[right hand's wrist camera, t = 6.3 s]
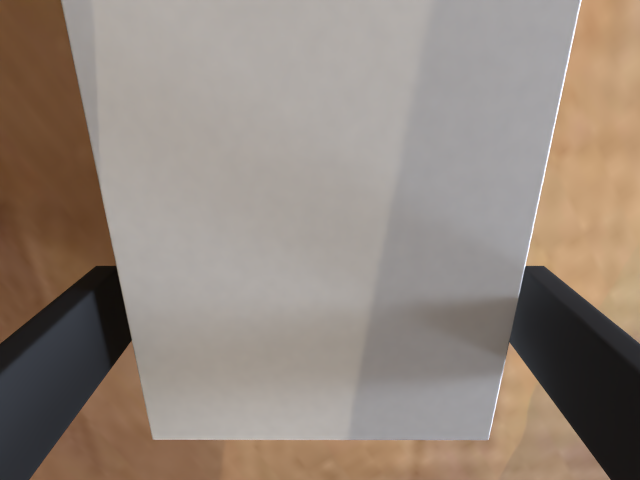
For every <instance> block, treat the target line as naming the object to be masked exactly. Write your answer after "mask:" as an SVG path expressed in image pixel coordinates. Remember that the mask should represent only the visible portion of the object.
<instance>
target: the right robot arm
mask: <svg viewBox="0 0 640 480" xmlns="http://www.w3.org/2000/svg"><path fill="white" fill-rule="evenodd" d="M131 341H132V338H131V333H130V329H129V324H128V319H127V314H126V309H125V305H124V300H123V295H122V290H121V286H120V281H119V276H118V271H117V266H96V267H94V268H93V269H92V270H91V271H89V272H88V273H87V274H86V275H85V276H83V277H82V278H81V279H80V280H78V281H77V282H76V283H75V284H73V285H72V286H71V287H70V288H68V289H67V290H66V291H65V292H64V293H62V294H61V295H60V296H59V297H57V298H56V299H55V300H54V301H52V302H51V303H50V304H49V305H48V306H46V307H45V308H44V309H43V310H41V311H40V312H39V313H38V314H36V315H35V316H34V317H33V318H31V319H30V320H29V321H28V322H27V323H25V324H24V325H23V326H22V327H20V328H19V329H18V330H17V331H15V332H14V333H13V334H12V335H11V336H9V337H8V338H7V339H6V340H4V341H3V342H2V343H1V344H0V480H29V479H30V478H31V476H32V475H33V474H34V472H35V471H36V470H37V468H38V467H39V466H40V464H41V463H42V461H43V460H44V459H45V457H46V456H47V455H48V453H49V452H50V451H51V449H52V448H53V447H54V445H55V444H56V442H57V441H58V440H59V438H60V437H61V436H62V434H63V433H64V432H65V430H66V429H67V428H68V426H69V425H70V423H71V422H72V421H73V419H74V418H75V417H76V415H77V414H78V413H79V411H80V410H81V409H82V407H83V406H84V404H85V403H86V402H87V400H88V399H89V398H90V396H91V395H92V394H93V392H94V391H95V389H96V388H97V387H98V385H99V384H100V383H101V381H102V380H103V379H104V377H105V376H106V375H107V373H108V372H109V370H110V369H111V368H112V366H113V365H114V364H115V362H116V361H117V360H118V358H119V357H120V356H121V354H122V353H123V351H124V350H125V349H126V347H127V346H128V345H129V343H130V342H131ZM509 342H510V343H511V345H512V346H513V347H514V349H515V350H516V351H517V353H518V354H519V356H520V357H521V358H522V360H523V361H524V362H525V364H526V365H527V366H528V368H529V369H530V370H531V372H532V373H533V375H534V376H535V377H536V379H537V380H538V381H539V383H540V384H541V385H542V387H543V388H544V389H545V391H546V392H547V394H548V395H549V396H550V398H551V399H552V400H553V402H554V403H555V404H556V406H557V407H558V409H559V410H560V411H561V413H562V414H563V415H564V417H565V418H566V419H567V421H568V422H569V423H570V425H571V426H572V428H573V429H574V430H575V432H576V433H577V434H578V436H579V437H580V438H581V440H582V441H583V442H584V444H585V445H586V447H587V448H588V449H589V451H590V452H591V453H592V455H593V456H594V457H595V459H596V460H597V461H598V463H599V464H600V466H601V467H602V468H603V470H604V471H605V472H606V474H607V475H608V476H609V478H610V479H611V480H640V344H639V343H638V342H637V341H636V340H634V339H633V338H632V337H631V336H629V335H628V334H627V333H626V332H625V331H623V330H622V329H621V328H620V327H618V326H617V325H616V324H615V323H613V322H612V321H611V320H610V319H609V318H607V317H606V316H605V315H604V314H602V313H601V312H600V311H599V310H597V309H596V308H595V307H594V306H592V305H591V304H590V303H589V302H588V301H586V300H585V299H584V298H583V297H581V296H580V295H579V294H578V293H576V292H575V291H574V290H573V289H572V288H570V287H569V286H568V285H567V284H565V283H564V282H563V281H562V280H560V279H559V278H558V277H557V276H555V275H554V274H553V273H552V272H551V271H549V270H548V269H547V268H546V267H544V266H525V269H524V274H523V279H522V284H521V288H520V293H519V298H518V302H517V307H516V312H515V317H514V321H513V326H512V331H511V336H510V340H509Z"/></svg>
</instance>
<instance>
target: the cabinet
mask: <svg viewBox="0 0 640 480" xmlns="http://www.w3.org/2000/svg"><path fill="white" fill-rule="evenodd" d="M61 3H62V8H63V13H64V18H65V22H66V27H67V32H68V37H69V42H70V46H71V51H72V56H73V61H74V65H75V70H76V75H77V80H78V85H79V89H80V94H81V99H82V104H83V108H84V113H85V118H86V123H87V128H88V132H89V137H90V142H91V147H92V152H93V156H94V161H95V166H96V171H97V175H98V180H99V185H100V190H101V195H102V199H103V204H104V209H105V214H106V219H107V223H108V228H109V233H110V238H111V242H112V247H113V252H114V257H115V262H116V266H117V271H118V276H119V281H120V286H121V290H122V295H123V300H124V305H125V309H126V314H127V319H128V324H129V329H130V333H131V338H132V343H133V348H134V352H135V357H136V362H137V367H138V372H139V376H140V381H141V386H142V391H143V396H144V400H145V405H146V410H147V415H148V419H149V424H150V429H151V434H152V439H154V440H488V439H489V435H490V431H491V426H492V421H493V416H494V412H495V407H496V402H497V397H498V393H499V388H500V383H501V378H502V374H503V369H504V364H505V359H506V355H507V350H508V345H509V340H510V336H511V331H512V326H513V321H514V317H515V312H516V307H517V302H518V298H519V293H520V288H521V284H522V279H523V274H524V269H525V265H526V260H527V255H528V250H529V246H530V241H531V236H532V231H533V227H534V222H535V217H536V212H537V208H538V203H539V198H540V193H541V189H542V184H543V179H544V174H545V170H546V165H547V160H548V155H549V151H550V146H551V141H552V136H553V132H554V127H555V122H556V117H557V113H558V108H559V103H560V98H561V94H562V89H563V84H564V79H565V75H566V70H567V65H568V60H569V56H570V51H571V46H572V41H573V37H574V32H575V27H576V22H577V18H578V13H579V8H580V3H581V0H61Z"/></svg>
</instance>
